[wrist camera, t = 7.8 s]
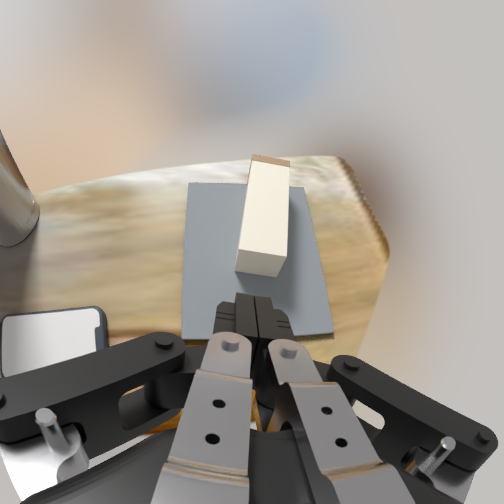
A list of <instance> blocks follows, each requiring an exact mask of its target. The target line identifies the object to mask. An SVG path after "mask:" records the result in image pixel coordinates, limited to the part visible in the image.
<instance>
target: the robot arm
mask: <svg viewBox="0 0 504 504" xmlns="http://www.w3.org/2000/svg"><path fill="white" fill-rule="evenodd" d="M38 216H39V206H38V204H37V202H36V200H35V198H34V197H33V195H32V193H31V191H30V189H29V188H28V186H27V184H26V182H25V180H24V178H23V176H22V174H21V173H20V171H19V169H18V167H17V165H16V163H15V161H14V159H13V157H12V155H11V152H10V150H9V148H8V146H7V144H6V142H5V139H4V137H3V135H2V133H1V130H0V244H1V245H2V246H5V247H10V246H14V245H16V244H18V243H20V242H21V241H22V240H24V239H25V238H26V237H27V236H28V235H29V234H30V232H31V231H32V230H33V228H34V226H35V225H36V222H37V220H38ZM141 385H144V387H143V388H141V389H139V390H136V391H134V392H132V393H129V394H127V395H125V396H122V395H123V394H124V393H126V392H128V391H130V390H132V389H134V388H137V387H139V386H141ZM252 389H254V390H255V391H256V394H255V398H254V401H253V409H254V414H255V420H256V425H257V430H254V429H250V419H251V401H252ZM121 396H122V397H121ZM356 400H358V401H360V402H361V403H363V404H364V405H366V406H368V407H369V408H371V409H373V410H374V411H376V412H378V413H379V414H381V415H382V416H383V418H384V420H385V425H384V427H383V428H382V429H377V428H375V427H374V426H372V425H370V424H368V423H367V422H366V421H364V420H362V419H360V418H359V417H358V416H356V414H355V413H354V411H353V409H352V406H353V405H354V403H355V401H356ZM181 408H184V409H183V412H182V415H181V419H180V422H179V425H178V428H174V429H169V430H165V431H162V432H159V433H156V434H154V435H151V436H150V437H148V438H146V439H144V440H143V441H141V442H139V443H137V444H136V445H134V446H132V447H130V448H128V449H127V450H125V451H123V452H121V453H119V454H117V455H116V456H114V457H112V458H110V459H108V460H106V461H104V462H102V463H100V464H98V465H96V466H94V467H92V468H90V469H88V466H89V460H90V459H92V458H94V457H96V456H99V455H101V454H103V453H105V452H107V451H110V450H112V449H114V448H116V447H118V446H120V445H122V444H124V443H126V442H128V441H130V440H132V439H134V438H136V437H138V436H140V435H142V434H144V433H145V432H147V431H149V430H151V429H153V428H155V427H157V426H158V425H160V424H162V423H164V422H166V421H167V420H169V419H171V418H173V417H175V416H176V415H178V414H179V413H180V411H181ZM497 447H498V440H497V437H496V435H495V434H494V432H493V431H492V430H491V429H489V428H488V427H486V426H484V425H482V424H480V423H478V422H476V421H474V420H472V419H470V418H468V417H466V416H464V415H462V414H460V413H458V412H456V411H454V410H452V409H450V408H448V407H446V406H444V405H442V404H440V403H438V402H437V401H434V400H433V399H431V398H429V397H427V396H425V395H423V394H421V393H420V392H418V391H416V390H414V389H412V388H410V387H409V386H407V385H405V384H403V383H401V382H399V381H397V380H396V379H394V378H392V377H390V376H389V375H387V374H384V373H383V372H381V371H380V370H378V369H376V368H374V367H372V366H371V365H369V364H367V363H365V362H364V361H362V360H360V359H358V358H356V357H353V356H349V355H339V356H336V357H334V358H333V359H332V361H331V364H330V365H329V364H325V363H321V362H317V361H314V360H312V358H311V356H310V354H309V352H308V350H307V349H306V348H305V347H304V346H303V345H301V344H300V343H298V342H296V340H295V337H294V334H293V331H292V329H291V325H290V322H289V319H288V316H287V315H286V314H285V313H284V312H283V311H282V310H280V309H274V308H273V304H272V300H271V297H265V296H258V295H254V296H253V295H251V294H245V293H239V292H236V296H235V301H234V303H232V302H226V301H222V302H221V303H220V304H218V305H217V309H216V315H215V322H214V328H213V334H212V336H211V337H210V339H209V342H208V343H206V344H204V345H201V346H196V347H186V343H185V342H184V340H183V339H182V338H180V337H179V336H177V335H175V334H172V333H167V332H154V333H150V334H147V335H144V336H141V337H138V338H135V339H132V340H129V341H126V342H123V343H120V344H117V345H114V346H111V347H108V348H105V349H102V350H98V351H95V352H92V353H89V354H86V355H82V356H79V357H76V358H72V359H69V360H66V361H62V362H59V363H55V364H52V365H49V366H45V367H41V368H38V369H34V370H31V371H27V372H23V373H20V374H16V375H12V376H8V377H4V378H0V454H1V457H2V459H3V462H4V464H5V466H6V469H7V471H8V473H9V475H10V477H11V479H12V482H13V484H14V486H15V487H16V490H17V492H18V493H19V495H20V497H21V499H22V502H21V503H20V504H464V501H465V499H466V496H467V493H468V491H469V488H470V485H471V483H472V480H473V476H474V474H475V472H476V471H477V470H478V469H479V468H480V466H482V464H483V463H484V462H485V461H486V460H487V459H488V458H489V457H490V456H491V455H492V453H493V452H494V451H495V450H496V449H497Z"/></svg>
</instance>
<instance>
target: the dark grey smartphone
mask: <svg viewBox="0 0 504 504" xmlns="http://www.w3.org/2000/svg"><path fill="white" fill-rule="evenodd" d="M105 348H108V337H107V321H106V315H105V313H104V312H103V310H102V309H101V308H99V307H97V306H89V307H80V308H70V309H61V310H52V311H42V312H32V313H21V314H10V315H6V316H5V317H4V318H3V319H2V322H1V341H0V366H1V375H2V377H3V378H4V377H8V376H12V375H16V374H20V373H23V372H27V371H31V370H34V369H38V368H41V367H45V366H49V365H52V364H55V363H59V362H62V361H66V360H69V359H72V358H76V357H79V356H82V355H86V354H89V353H92V352H95V351H98V350H102V349H105Z"/></svg>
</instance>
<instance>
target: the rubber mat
mask: <svg viewBox="0 0 504 504" xmlns="http://www.w3.org/2000/svg"><path fill="white" fill-rule="evenodd" d="M246 190H247V184H230V183H189V186H188V198H187V210H186V224H185V240H184V259H183V284H182V339H183V340H209V339H210V337H211V336H212V334H213V328H214V322H215V315H216V309H217V305H218V304H220V303H221V302H222V301H226V302H232V303H234V301H235V296H236V292H239V293H245V294H251V295H253V296H254V295H258V296H265V297H271V300H272V304H273V308H274V309H280V310H282V311H283V312H284V313H285V314H286V315H287V316H288V319H289V322H290V325H291V329H292V331H293V334H294V337H297V336H309V335H321V334H331V333H333V332H334V330H333V324H332V318H331V312H330V307H329V301H328V296H327V291H326V285H325V280H324V275H323V270H322V265H321V261H320V256H319V251H318V247H317V242H316V238H315V233H314V229H313V224H312V220H311V216H310V212H309V207H308V203H307V199H306V195H305V191H304V187H291V186H289V207H288V238H287V257H286V259H285V261H284V263H283V265H282V267H281V269H280V271H279V273H278V275H277V277H270V276H263V275H257V274H250V273H244V272H237V271H234V270H235V263H236V257H237V250H238V243H239V236H240V230H241V223H242V216H243V210H244V203H245V197H246Z"/></svg>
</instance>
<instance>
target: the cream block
mask: <svg viewBox="0 0 504 504" xmlns="http://www.w3.org/2000/svg"><path fill="white" fill-rule="evenodd" d="M289 168H290V161H286V160H281V159H276V158H271V157H265V156H260V155H254V154H253V155H252V161H251V166H250V171H249V176H248V182H247V190H246V197H245V203H244V210H243V216H242V223H241V230H240V236H239V243H238V250H237V257H236V263H235V270H234V271H237V272H244V273H250V274H257V275H263V276H270V277H277V275H278V273H279V271H280V269H281V267H282V265H283V263H284V261H285V259H286V257H287V238H288V207H289Z"/></svg>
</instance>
